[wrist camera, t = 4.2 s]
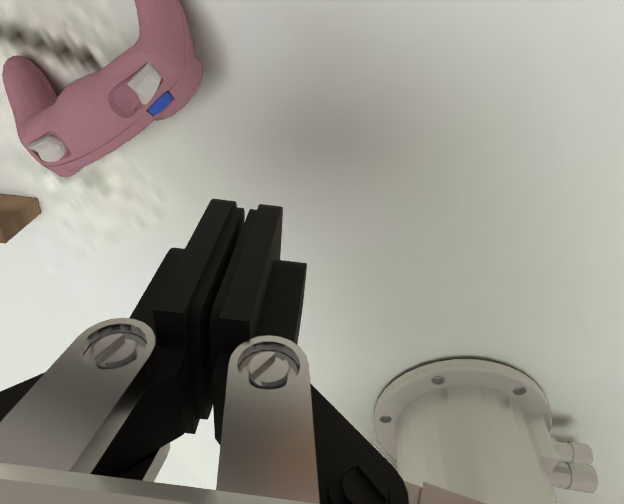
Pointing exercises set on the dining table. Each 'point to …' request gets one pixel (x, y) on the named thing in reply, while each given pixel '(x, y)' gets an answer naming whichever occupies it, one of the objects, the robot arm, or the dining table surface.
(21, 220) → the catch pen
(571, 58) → the dining table surface
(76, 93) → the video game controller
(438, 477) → the robot arm
